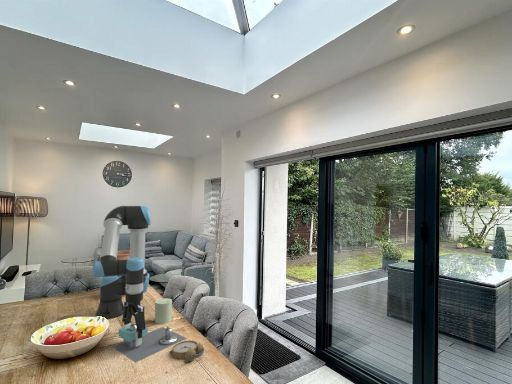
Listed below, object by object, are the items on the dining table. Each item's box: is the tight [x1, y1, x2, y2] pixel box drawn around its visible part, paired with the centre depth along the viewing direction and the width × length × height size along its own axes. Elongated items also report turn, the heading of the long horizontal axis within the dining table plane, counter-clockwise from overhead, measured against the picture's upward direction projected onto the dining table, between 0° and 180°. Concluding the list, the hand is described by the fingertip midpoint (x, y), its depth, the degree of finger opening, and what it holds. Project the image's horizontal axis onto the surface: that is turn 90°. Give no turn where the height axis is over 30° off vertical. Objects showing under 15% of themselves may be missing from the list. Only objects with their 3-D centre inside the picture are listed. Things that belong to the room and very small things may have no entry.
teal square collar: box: [118, 326, 149, 342], centre depth 127 cm, size 9×9×3 cm
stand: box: [122, 323, 143, 349], centre depth 127 cm, size 6×6×8 cm
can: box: [154, 297, 173, 325], centre depth 153 cm, size 9×9×12 cm
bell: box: [159, 325, 177, 345], centre depth 130 cm, size 8×8×6 cm
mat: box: [112, 326, 188, 363], centre depth 128 cm, size 20×26×1 cm
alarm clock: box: [169, 340, 205, 363], centre depth 119 cm, size 11×5×15 cm
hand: (133, 341), depth 127 cm, fingers closed on teal square collar, 9 cm apart
